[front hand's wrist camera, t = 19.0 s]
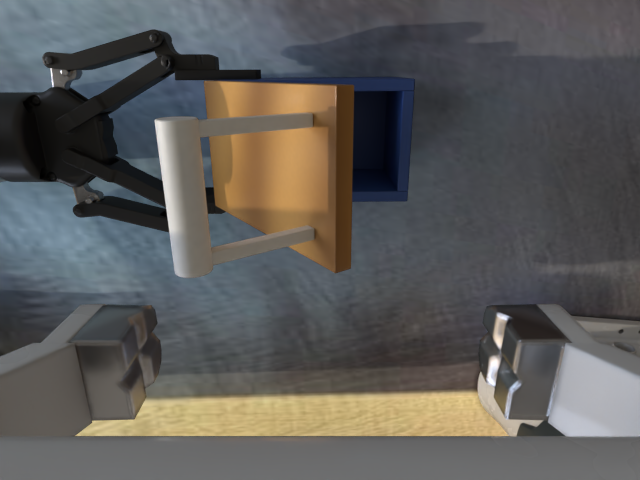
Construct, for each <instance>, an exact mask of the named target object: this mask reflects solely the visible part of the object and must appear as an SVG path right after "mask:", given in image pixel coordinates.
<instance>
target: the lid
mask: <svg viewBox="0 0 640 480" xmlns="http://www.w3.org/2000/svg"><path fill="white" fill-rule="evenodd" d="M204 88H205V99H206V110H207V119H202V120H198V118H196V117H188V116H178V117H163V118H157V119H155V128H156V135H157V143H158V150H159V158H160V165H161V173H162V180H163V188H164V195H165V203H166V210H167V218H168V225H169V233H170V240H171V248H172V255H173V263H174V270H175V273H176V275H177V276H179V277H183V278H195V277H201V276H204V275H206V274H208V273H210V272H211V271H212V269H213V265H217V264H221V263H225V262H229V261H232V260H236V259H240V258H244V257H248V256H252V255H256V254H260V253H264V252H268V251H272V250H276V249H280V248H284V247H287V246H288V247H290V248H291V249H293V250H295V251H297V252H299V253H300V254H302V255H304V256H306V257H307V258H309V259H311V260H313V261H315V262H316V263H318V264H320V265H322V266H323V267H325V268H327V269H329V270H330V271H332V272H334V273H338V272H341V271H344V270H348V269H350V268H351V230H352V175H353V120H354V85H345V84H314V83H282V82H250V81H219V80H214V81H204ZM201 137H209V142H210V153H211V163H212V174H213V185H214V195H215V205H216V206H217V207H219V208H221V209H222V210H224V211H226V212H228V213H229V214H231V215H233V216H235V217H237V218H238V219H240V220H242V221H244V222H245V223H247V224H249V225H251V226H253V227H254V228H256V229H258V230H260V231H261V232H263V233H265V234H267V235H264V236H259V237H255V238H251V239H246V240H242V241H238V242H233V243H229V244H225V245H220V246H216V247H212V248H211V242H210V232H209V222H208V212H207V202H206V192H205V182H204V172H203V162H202V152H201V142H200V138H201Z"/></svg>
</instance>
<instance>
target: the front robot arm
mask: <svg viewBox="0 0 640 480" xmlns="http://www.w3.org/2000/svg"><path fill="white" fill-rule="evenodd" d="M156 325H157V317H156V312H155V309H154V308H153V307H152V305H114V304H108V305H106V304H85V305H80V306H79V307H77V308H76V309H75V310H74V311H73V312H72V313H71V314H70V315H69V316H68V317H67V318H66V319H65V320H64V321H63V322H62V323H61V324H60V325H59V326H58V327H57V328H56V329H55V330H54V331H53V332H52V333H50V334H49V335H48V336H47V337H46V338H45V339H44V340H43V341H42V342H41V343H32V344H30V345H27V346H25V347H22V348H20V349H17V350H15V351H13V352H10V353H8V354H5V355H3V356H1V357H0V480H640V321H631V320H619V319H606V318H594V317H581V316H571V315H570V314H569V313H568V312H567V311H566V310H565V309H564V308H563V307H562V306H561V305H557V304H539V305H536V304H526V305H491V306H487V307H486V310H485V312H484V317H483V325H484V326H485V328H486V330H487V331H488V332H487V334H486V335H485V336H484V337H483V338H482V339H481V340H480V344H479V353H478V355H479V366H480V370H481V372H480V375H479V379H478V396H479V399H480V402H481V404H482V406H483V407H484V409H485V410H486V411H487V412H488V414H489V415H491V416H492V417H493V418H494V419H495V420H496V421H497V422H498V423H499V424H500V425H501V427H502V428H503V429H504V430H505V432H506V433H507V434H508V435H509V436H75V435H76V434H78V433H79V432H80V431H82V430H83V429H84V428H86V427H87V426H88V425H90V424H91V423H92V420H128V419H135V417H136V415H137V413H138V412H139V410H140V408H141V406H142V404H143V402H144V400H145V399H146V391H145V388H146V387H148V386H150V385H151V384H153V383H154V382H155V380H156V378H157V376H158V373H159V369H160V364H161V344H160V340H159V339H158V338H157V337H156V336H155V335H154V334H153V333H152V331H153V330H154V328H155V326H156Z"/></svg>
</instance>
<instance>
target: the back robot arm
mask: <svg viewBox="0 0 640 480" xmlns="http://www.w3.org/2000/svg"><path fill="white" fill-rule="evenodd" d="M154 51H155V53H156V55H157V58H156V59H155V60H153V61H152V62H150V63H148V64H147V65H145V66H144V67H142V68H141V69H139V70H137V71H136V72H134V73H133V74H131V75H130V76H128V77H126V78H125V79H123V80H122V81H120V82H118V83H117V84H115V85H114V86H112V87H111V88H109V89H107V90H106V91H104V92H103V93H101V94H99V95H97V96H94V97H92V98H91V99H89V100H88V99H87V98H85V97H84V96H82V95H81V94H79V93H78V92H76V91H75V90H73V89H72V88H70V85H71V82H72V81H74V80H78V79H80V78H81V76H82V70H92V69H97V68H100V67H103V66H107V65H110V64H113V63H117V62H120V61H124V60H127V59H130V58H134V57H137V56H140V55H144V54H147V53H150V52H154ZM42 60H43V63H44V65H45V66H47V67H48V68H51V77H52V86H53V87H51V88H49V89H48V90H47V91H45V92H40V93H0V182H3V181H10V182H61V183H64V184H66V185H68V186H70V187H73V190H74V194H75V197H76V200H77V205H75V206H74V208H73V212H74V214H75V215H76V216H77V217H92V216H103V217H107V218H111V219H115V220H120V221H124V222H128V223H132V224H136V225H141V226H145V227H149V228H153V229H157V230H162V231H166V232H169V225H168V218H167V210H166V209H164V208H160V207H156V206H151V205H147V204H143V203H139V202H135V201H131V200H127V199H123V198H118V197H113V196H104V194H103V192H101V191H98V190H94V189H92V188H90V186H89V185H88V183H89V182H90V181H91V180H93V179H94V178H95V177H96V176H97V177H99V178H101V179H103V180H105V181H107V182H114V183H116V184H118V185H120V186H122V187H125V188H127V189H129V190H131V191H133V192H135V193H137V194H139V195H141V196H143V197H145V198H147V199H149V200H151V201H153V202H155V203H157V204H159V205H162V206H164V207H166V203H165V195H164V188H163V181H161V180H159V179H157V178H155V177H153V176H151V175H149V174H147V173H145V172H143V171H141V170H139V169H137V168H135V167H133V166H131V165H130V164H129V163H128V162H127V161H125V160H123V159H121V158H119V157H117V156H116V154H118V151H117V145H116V143H115V140H114V138H113V129H114V126H113V120H112V118H109V116H108V114H110V113H112V112H113V111H115V110H117V109H118V108H120V106H121V105H123V104H125V103H126V102H128V101H129V100H131V99H133V98H134V97H136V96H137V95H139V94H141V93H142V92H144V91H146V90H147V89H149V88H150V87H152V86H154V85H155V84H157V83H158V82H160V81H162V80H163V79H165V78H166V77H168V76H170V75H171V74H173V73H175V80H253V79H261V70H219V60H218V57H216V56H213V55H181V54H179V53H177V52H176V50H175V49H174V47H173V44H172V39H171V36H170V35H169V34H168V33H166V32H163V31H159V30H149V31H146V32H143V33H139V34H136V35H133V36H129V37H126V38H123V39H119V40H116V41H113V42H109V43H106V44H103V45H100V46H96V47H93V48H90V49H86V50H83V51H80V52H76V53H73V54H68V53H54V52H46V53H45V54H44V55H43V57H42ZM205 192H206V202H207V212H208V214H222V213H224V212H226V211H224V210H222V209H221V208H219V207H217V206H216V205H215V195H214V187H205Z"/></svg>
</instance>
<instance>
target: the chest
mask: <svg viewBox="0 0 640 480" xmlns="http://www.w3.org/2000/svg"><path fill="white" fill-rule="evenodd" d="M213 81H214V80H213ZM219 81H250V82H282V83H314V84H345V85H354V120H353V175H352V202H373V201H407V198H408V182H409V166H410V150H411V134H412V119H413V103H414V86H415V79H411V78H400V77H325V78H261V79H253V80H219Z"/></svg>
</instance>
